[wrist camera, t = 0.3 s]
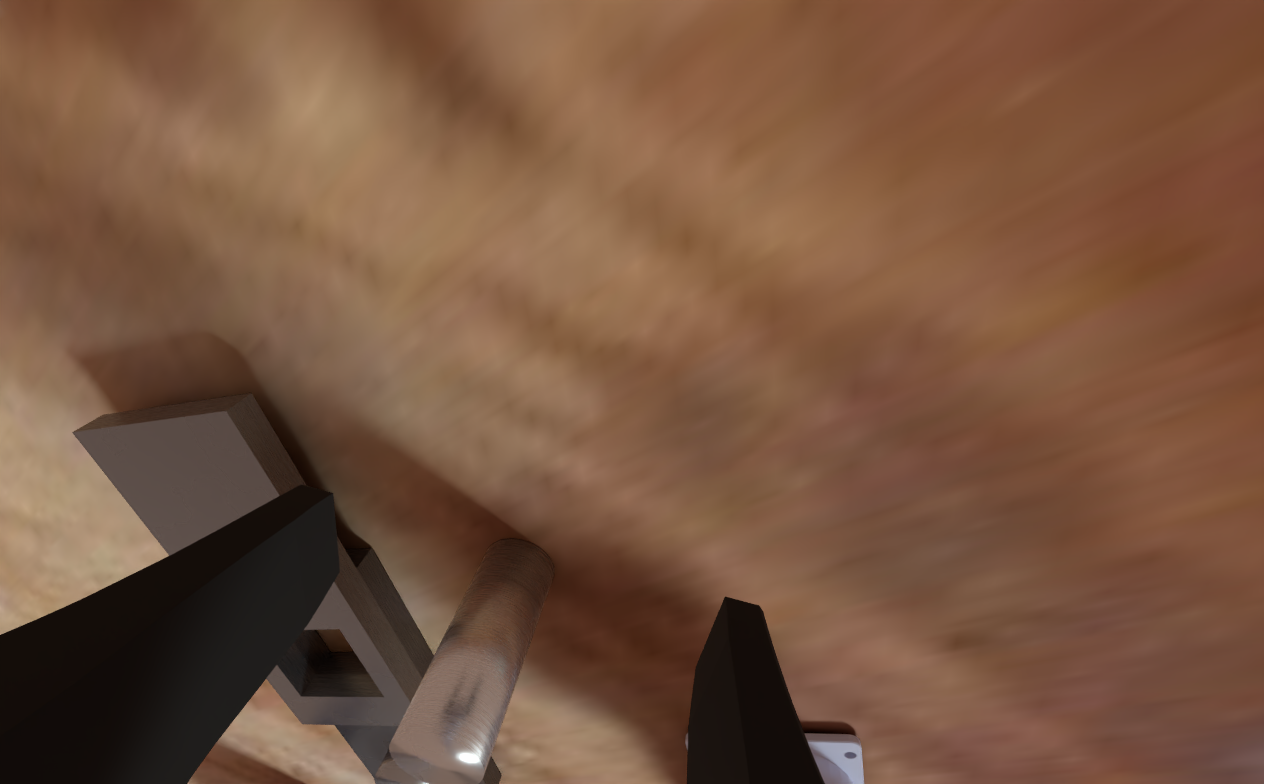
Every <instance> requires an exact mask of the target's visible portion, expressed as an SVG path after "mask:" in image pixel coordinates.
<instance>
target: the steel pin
mask: <svg viewBox="0 0 1264 784" xmlns="http://www.w3.org/2000/svg"><path fill="white" fill-rule="evenodd" d="M554 571H555V570H554V565H553V563H552V560H551V559H550V557H549V556H548V555H547V554H546V553H545V552H544V551H543V550H542V549H541V548H539V547H538V546H536V545H534V544H532V543H530V542H527V541H524V540H520V539H503V540H500V541H497V542H495V543H493V544H492V545H491V546H490V547H489V548H488V550H487V552H486V554H485V556H484V558H483V560H482V562H481V564H480V566H479V568H478V570H477V572H476V574H475V576H474V578H473V580H472V582H471V584H470V586H469V588H468V590H467V592H466V594H465V595H464V597H463V599H462V601H461V603H460V605H459V607H458V609H457V611H456V613H455V615H454V617H453V619H452V621H451V623H450V625H449V627H448V629H447V631H446V633H445V635H444V637H443V639H442V641H441V643H440V645H439V647H438V649H437V651H436V653H435V655H434V657H433V659H432V661H431V663H430V665H429V667H428V669H427V671H426V673H425V675H424V677H423V679H422V681H421V683H420V685H419V687H418V689H417V691H416V693H415V695H414V697H413V699H412V701H411V703H410V705H409V707H408V709H407V711H406V713H405V715H404V717H403V719H402V721H401V723H400V725H399V727H398V729H397V731H396V733H395V735H394V737H393V739H392V741H391V742H390V745H389V751H390V754H391V757H392V758H393V760H394V761H395V763H396V764H397V765H398V766H399V767H400V768H401V769H403V770H404V771H405V772H406V773H408V774H409V775H411V776H413V777H414V778H416V779H418V780H420V781H423V782H425V783H428V784H479V783H480V782H481V781H482V779H483V777H484V774H485V771H486V768H487V765H488V762H489V760H490V757H491V754H492V751H493V748H494V745H495V742H496V740H497V737H498V734H499V731H500V728H501V725H502V723H503V720H504V717H505V714H506V711H507V708H508V705H509V703H510V700H511V697H512V694H513V691H514V688H515V686H516V683H517V680H518V677H519V674H520V671H521V668H522V666H523V663H524V660H525V657H526V654H527V651H528V649H529V646H530V643H531V640H532V637H533V634H534V631H535V629H536V626H537V623H538V620H539V617H540V614H541V612H542V609H543V606H544V603H545V600H546V597H547V594H548V592H549V589H550V586H551V583H552V580H553V577H554Z"/></svg>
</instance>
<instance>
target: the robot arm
mask: <svg viewBox="0 0 1264 784" xmlns="http://www.w3.org/2000/svg"><path fill="white" fill-rule="evenodd" d="M339 572H340V566H339V555H338V543H337V532H336V521H335V509H334V498H333V493H331V492H327V491H324V490H320V489H316V488H312V487H309V486H305V485H299V486H297V487H295V488H293V489H291V490H290V491H288V492H286V493H284V494H282V495H280V496H278V497H277V498H275V499H273V500H271V501H269V502H267V503H266V504H264V505H262V506H260V507H258V508H257V509H255V510H253V511H251V512H249V513H248V514H246V515H244V516H242V517H240V518H239V519H237V520H235V521H233V522H231V523H229V524H228V525H226V526H224V527H222V528H220V529H218V530H217V531H215V532H213V533H211V534H209V535H207V536H205V537H204V538H202V539H200V540H198V541H196V542H194V543H192V544H191V545H189V546H187V547H185V548H183V549H181V550H179V551H177V552H176V553H174V554H172V555H170V556H168V557H166V558H164V559H162V560H160V561H158V562H156V563H154V564H152V565H150V566H148V567H146V568H144V569H142V570H140V571H138V572H136V573H134V574H132V575H130V576H128V577H126V578H124V579H122V580H120V581H118V582H116V583H114V584H112V585H110V586H108V587H106V588H104V589H102V590H100V591H98V592H96V593H93V594H91V595H89V596H87V597H85V598H83V599H81V600H79V601H77V602H75V603H72V604H70V605H68V606H66V607H64V608H61V609H59V610H57V611H55V612H53V613H50V614H48V615H46V616H44V617H41V618H39V619H37V620H34V621H32V622H30V623H27V624H25V625H23V626H20V627H18V628H16V629H13V630H11V631H8V632H6V633H4V634H1V635H0V784H187V783H188V781H189V780H190V778H191V777H192V775H193V774H194V772H195V771H196V769H197V768H198V767H199V765H200V764H201V763H202V761H203V760H204V758H205V757H206V756H207V754H208V753H209V752H210V750H211V749H212V747H213V746H214V745H215V743H216V742H217V741H218V740H219V738H220V737H221V736H222V734H223V733H224V732H225V731H226V729H227V728H228V727H229V725H230V724H231V723H232V722H233V720H234V719H235V718H236V716H237V715H238V714H239V713H240V711H241V710H242V709H243V708H244V706H245V705H246V704H247V702H248V701H249V700H250V699H251V697H252V696H253V695H254V693H255V692H256V691H257V690H258V688H259V687H260V686H261V685H262V683H263V682H264V681H265V679H266V678H267V677H268V676H269V674H270V673H271V672H272V670H273V669H274V668H275V667H276V665H277V664H278V663H279V661H280V660H281V659H282V658H283V656H284V655H285V654H286V652H287V651H288V650H289V648H290V647H291V646H292V645H293V643H294V642H295V641H296V639H297V638H298V637H299V635H300V634H301V633H302V631H303V630H304V629H305V627H306V626H307V625H308V623H309V622H310V620H311V619H312V617H313V615H314V614H315V612H316V611H317V609H318V607H319V606H320V604H321V603H322V601H323V599H324V598H325V596H326V594H327V593H328V591H329V589H330V588H331V586H332V584H333V582H334V581H335V579H336V577H337V576H338V574H339ZM685 744H686V748H687V751H688V760H687V784H864V776H863V762H862V749H861V743H860V740H859V738H857V737H856V736H854V735H850V734H815V733H804V731H803V729H802V726H801V724H800V721H799V718H798V716H797V713H796V711H795V708H794V705H793V703H792V700H791V697H790V694H789V692H788V689H787V686H786V683H785V680H784V677H783V674H782V671H781V668H780V665H779V663H778V659H777V656H776V653H775V650H774V647H773V644H772V641H771V637H770V634H769V631H768V627H767V624H766V620H765V617H764V613H763V611H762V609H761V608H760V606H759V605H755V604H751V603H747V602H743V601H740V600H736V599H732V598H728V597H725V598H724V600H723V603H722V605H721V608H720V610H719V612H718V615H717V617H716V620H715V622H714V625H713V627H712V629H711V632H710V634H709V637H708V639H707V641H706V644H705V646H704V649H703V651H702V654H701V656H700V658H699V661H698V663H697V666H696V670H695V678H694V685H693V693H692V701H691V709H690V718H689V726H688V733H687V734H686V740H685Z"/></svg>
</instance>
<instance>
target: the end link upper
mask: <svg viewBox="0 0 1264 784" xmlns="http://www.w3.org/2000/svg"><path fill="white" fill-rule="evenodd" d="M72 433H73V434H74V435H75V436H76V438H77V439H78V440H79V441H80V443H81V444H82V445H83V447H84V448H85V449H86V450H87V452H88V453H89V454H90V455H91V457H92V458H93V459H94V460H95V462H96V463H97V464H98V466H99V467H100V468H101V469H102V471H103V472H104V473H105V474H106V476H107V477H108V478H109V480H110V481H111V482H112V483H113V485H114V486H115V487H116V488H117V490H118V491H119V492H120V494H121V495H122V496H123V497H124V499H125V500H126V501H127V502H128V504H129V505H130V506H131V507H132V509H133V510H134V511H135V513H136V514H137V515H138V516H139V518H140V519H141V520H142V521H143V523H144V524H145V525H146V527H147V528H148V529H149V530H150V532H151V533H152V534H153V535H154V537H155V538H156V539H157V540H158V542H159V543H160V544H161V546H162V547H163V548H164V549H165V551H166V552H167V553H168V554H169V556H170V555H172V554H174V553H176V552H177V551H179V550H181V549H183V548H185V547H187V546H189V545H191V544H192V543H194V542H196V541H198V540H200V539H202V538H204V537H205V536H207V535H209V534H211V533H213V532H215V531H217V530H218V529H220V528H222V527H224V526H226V525H228V524H229V523H231V522H233V521H235V520H237V519H239V518H240V517H242V516H244V515H246V514H248V513H249V512H251V511H253V510H255V509H257V508H258V507H260V506H262V505H264V504H266V503H267V502H269V501H271V500H273V499H275V498H277V497H278V496H280V495H282V494H284V493H286V492H288V491H290V490H291V489H293V488H295V487H297V486H299V485H305V486H307V485H306V483H305V482H304V480H303V478H302V477H301V475H300V473H299V472H298V470H297V468H296V467H295V465H294V463H293V462H292V460H291V458H290V457H289V455H288V453H287V452H286V450H285V448H284V447H283V445H282V443H281V442H280V440H279V438H278V437H277V435H276V433H275V432H274V430H273V428H272V427H271V425H270V423H269V422H268V420H267V418H266V417H265V415H264V413H263V412H262V410H261V408H260V406H259V405H258V403H257V401H256V400H255V398H254V396H253V395H252V393H249V394H242V395H235V396H228V397H222V398H215V399H208V400H201V401H194V402H187V403H181V404H174V405H167V406H160V407H153V408H147V409H140V410H133V411H126V412H119V413H112V414H106V415H102V416H100V417H98V418H97V419H95V420H93V421H91V422H90V423H88V424H86V425H84V426H83V427H81V428H79V429H77V430H76V431H74V432H72ZM337 543H338V555H339V566H340V572H339V574H338V576H337V577H336V579H335V581H334V582H333V584H332V586H331V588H330V589H329V591H328V593H327V594H326V596H325V598H324V599H323V601H322V603H321V604H320V606H319V607H318V609H317V611H316V612H315V614H314V615H313V617H312V619H311V620H310V622H309V623H308V625H307V626H306V627H305V629H304V630H321V629H340V631H341V632H342V634H343V635H344V637H345V638H346V640H347V642H348V643H349V645H350V646H351V648H352V649H353V651H354V652H355V654H356V655H357V657H358V658H359V660H360V661H361V663H362V664H363V666H364V667H365V669H366V670H367V672H368V673H369V674H316V673H315V671H314V670H313V668H312V667H311V666H310V664H309V663H308V661H307V660H306V659H305V657H304V656H303V655H302V653H301V652H300V650H299V649H298V648H297V646H296V645H295V643H293V645H292V646H291V647H290V648H289V650H288V651H287V652H286V654H285V655H284V656H283V658H282V659H281V660H280V661H279V663H278V664H277V665H276V667H275V668H274V669H273V670H272V672H271V673H270V674H269V676H268V677H267V678H266V679H267V680H268V681H269V683H270V684H271V685H272V686H273V688H274V689H275V690H276V692H277V693H278V694H279V695H280V697H281V698H282V699H283V700H284V702H285V703H286V704H287V705H288V707H289V708H290V709H291V711H292V712H293V713H294V714H295V716H296V717H297V718H298V719H299V721H300V722H301V723H302V724H320V725H367V726H399V725H400V723H401V721H402V719H403V717H404V715H405V713H406V711H407V709H408V707H409V705H410V703H411V701H412V699H413V697H414V695H415V693H416V691H417V689H418V687H419V685H420V683H421V681H422V677H421V675H420V674H419V672H418V670H417V669H416V667H415V665H414V664H413V662H412V660H411V659H410V657H409V655H408V654H407V652H406V650H405V649H404V647H403V645H402V644H401V642H400V640H399V639H398V637H397V635H396V634H395V632H394V630H393V629H392V627H391V625H390V624H389V622H388V620H387V619H386V617H385V615H384V614H383V612H382V610H381V609H380V607H379V605H378V604H377V602H376V600H375V599H374V597H373V595H372V593H371V592H370V590H369V588H368V587H367V585H366V583H365V582H364V580H363V578H362V577H361V575H360V573H359V572H358V570H357V568H356V567H355V565H354V563H353V562H352V560H351V558H350V557H349V555H348V553H347V552H346V550H345V548H344V547H343V545H342V543H341V542H340V540H339V538H338V537H337Z"/></svg>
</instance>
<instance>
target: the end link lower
mask: <svg viewBox="0 0 1264 784" xmlns="http://www.w3.org/2000/svg"><path fill="white" fill-rule="evenodd" d="M346 552H347V553H348V555H349V557H350V558H351V560H352V562H353V563H354V565H355V567H356V568H357V570H358V572H359V573H360V575H361V577H362V578H363V580H364V582H365V583H366V585H367V587H368V588H369V590H370V592H371V593H372V595H373V597H374V599H375V600H376V602H377V604H378V605H379V607H380V609H381V610H382V612H383V614H384V615H385V617H386V619H387V620H388V622H389V624H390V625H391V627H392V629H393V630H394V632H395V634H396V635H397V637H398V639H399V640H400V642H401V644H402V645H403V647H404V649H405V650H406V652H407V654H408V655H409V657H410V659H411V660H412V662H413V664H414V665H415V667H416V669H417V670H418V672H419V674H420V675H421V677H422V679H423V677H424V675H425V673H426V671H427V669H428V667H429V665H430V663H431V661H432V659H433V657H434V656H433V654H432V652H431V651H430V649H429V647H428V645H427V644H426V642H425V640H424V638H423V637H422V635H421V633H420V631H419V630H418V628H417V626H416V624H415V623H414V621H413V619H412V617H411V616H410V614H409V612H408V610H407V609H406V607H405V605H404V603H403V602H402V600H401V598H400V596H399V595H398V593H397V591H396V589H395V588H394V586H393V584H392V582H391V581H390V579H389V577H388V575H387V574H386V572H385V570H384V568H383V567H382V565H381V563H380V561H379V560H378V558H377V556H376V554H375V552H374V551H373V549H372V548H362V549H346ZM294 643H295V645H296V646H297V648H298V649H299V650H300V652H301V653H302V655H303V656H304V657H305V659H306V660H307V661H308V663H309V664H310V666H311V667H312V668H313V670H314V671H315V673H316V674H369V673H368V672H367V670H366V669H365V667H364V666H363V664H362V663H361V661H360V660H359V658H358V657H357V655H356V654H355V652H345V653H331V652H330V651H329V649H328V648H327V646H326V645H325V643H324V642H323V641H322V639H321V638H320V636H319V635H318V633H317V632H316V630H303V631H302V633H301V634H300V635H299V637H298V638H297V639H296V641H295V642H294ZM335 726H336V728H337V729H338V730H339V732H340V733H341V734H342V736H343V737H344V738H345V740H346V741H347V742H348V744H349V745H350V746H351V748H352V749H353V750H354V752H355V753H356V754H357V756H358V757H359V758H360V760H361V761H362V762H363V764H364V765H365V766H366V768H367V769H368V770H369V772H370V773H371V774H372V776H373V777H374V780H375V783H376V784H428V783H425V782H423V781H420V780H418V779H416V778H414V777H413V776H411V775H409V774H408V773H406V772H405V771H404V770H403V769H401V768H400V767H399V766H398V765H397V764H396V763H395V761H394V760H393V758H392V757H391V754H390V751H389V745H390V742H391V741H392V739H393V737H394V735H395V733H396V731H397V729H398V727H399V726H367V725H335ZM500 779H501V774H500V772H499V770H498V768H497V767H496V765H495V763H494V761H493V760H492V758H491V757H490V760H489V762H488V765H487V768H486V771H485V774H484V777H483V779H482V781H481V782H480V783H479V784H499V782H500Z"/></svg>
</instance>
